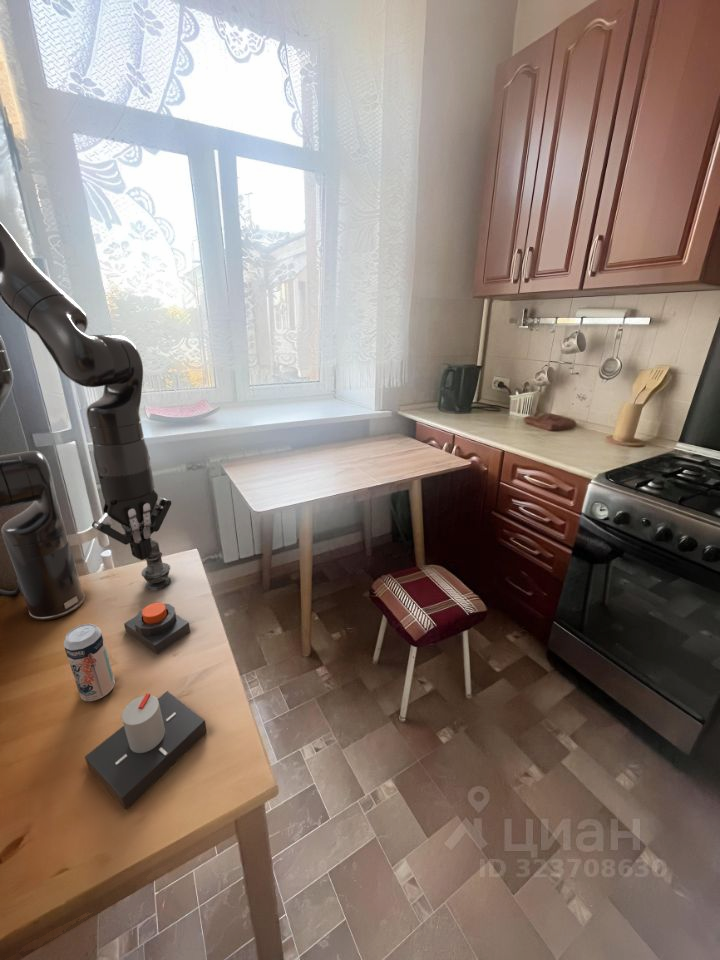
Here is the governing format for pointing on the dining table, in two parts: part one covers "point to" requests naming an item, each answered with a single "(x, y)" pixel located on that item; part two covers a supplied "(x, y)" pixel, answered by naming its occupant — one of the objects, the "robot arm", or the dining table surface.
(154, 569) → the dark grey stone stupa
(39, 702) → the dining table surface
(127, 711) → the timer knob
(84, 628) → the beer can
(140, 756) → the timer panel
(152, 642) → the button block
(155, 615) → the button
